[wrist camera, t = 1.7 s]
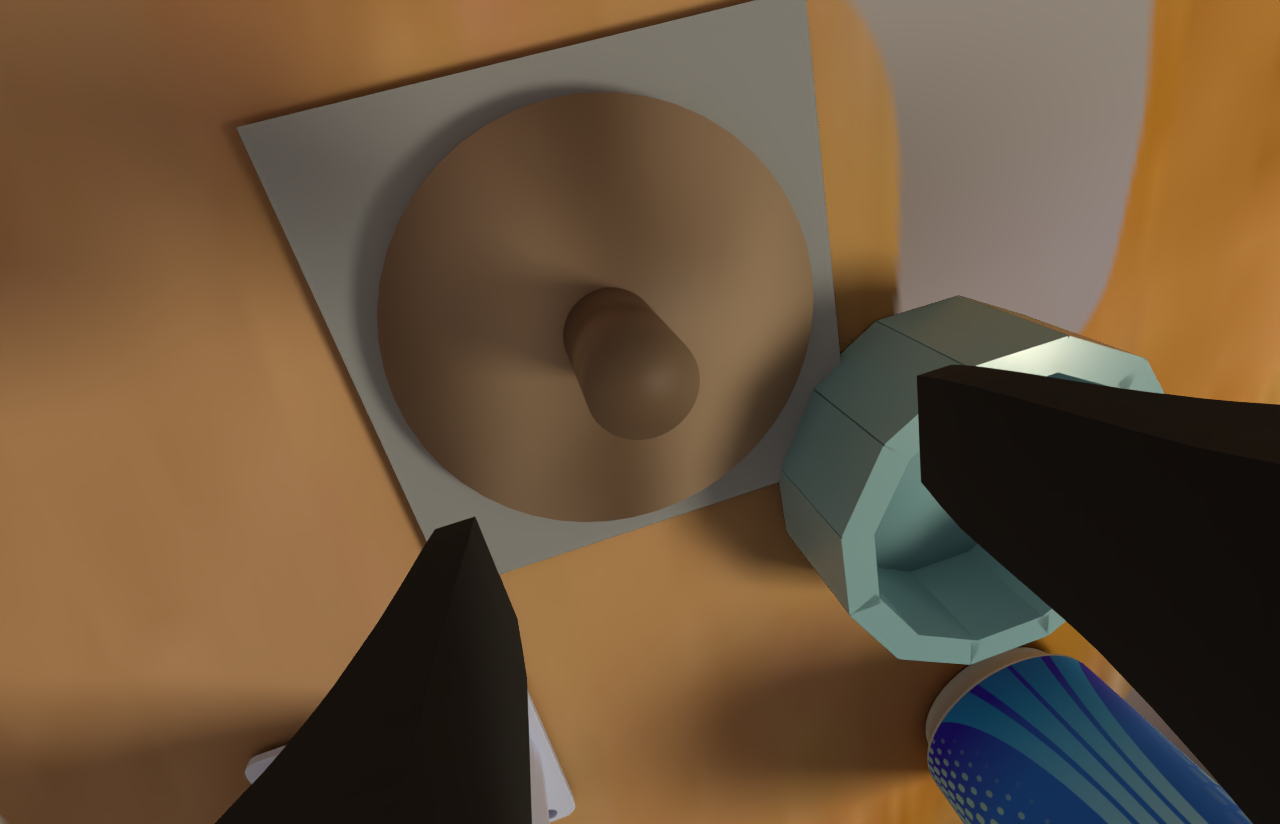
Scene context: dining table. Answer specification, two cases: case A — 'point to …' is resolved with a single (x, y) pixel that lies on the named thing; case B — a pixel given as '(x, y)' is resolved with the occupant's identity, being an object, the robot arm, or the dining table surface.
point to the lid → (595, 307)
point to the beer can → (1059, 751)
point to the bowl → (891, 480)
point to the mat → (461, 105)
